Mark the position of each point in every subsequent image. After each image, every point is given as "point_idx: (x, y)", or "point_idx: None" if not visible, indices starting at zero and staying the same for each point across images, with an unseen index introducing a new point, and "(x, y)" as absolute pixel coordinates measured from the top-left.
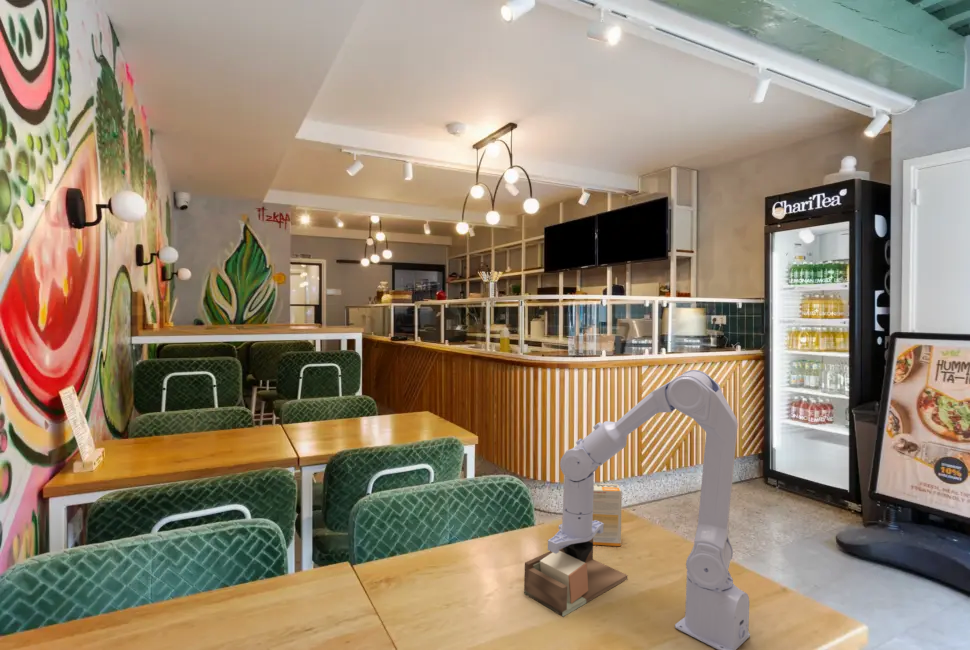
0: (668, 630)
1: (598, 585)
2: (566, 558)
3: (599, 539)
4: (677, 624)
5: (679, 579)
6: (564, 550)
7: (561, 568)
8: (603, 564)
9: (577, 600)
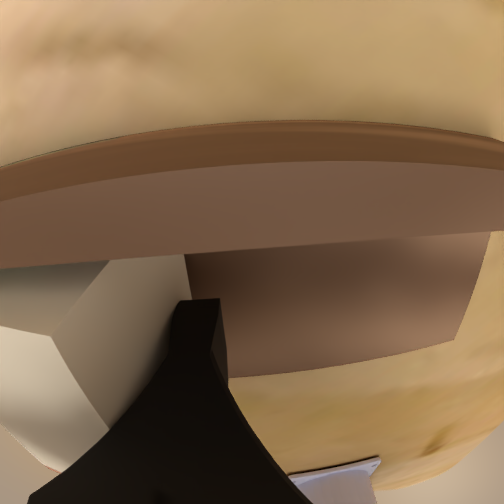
0: None
1: (308, 347)
2: (86, 446)
3: None
4: (294, 479)
5: (493, 374)
6: (92, 455)
7: (23, 438)
8: (487, 235)
9: None
